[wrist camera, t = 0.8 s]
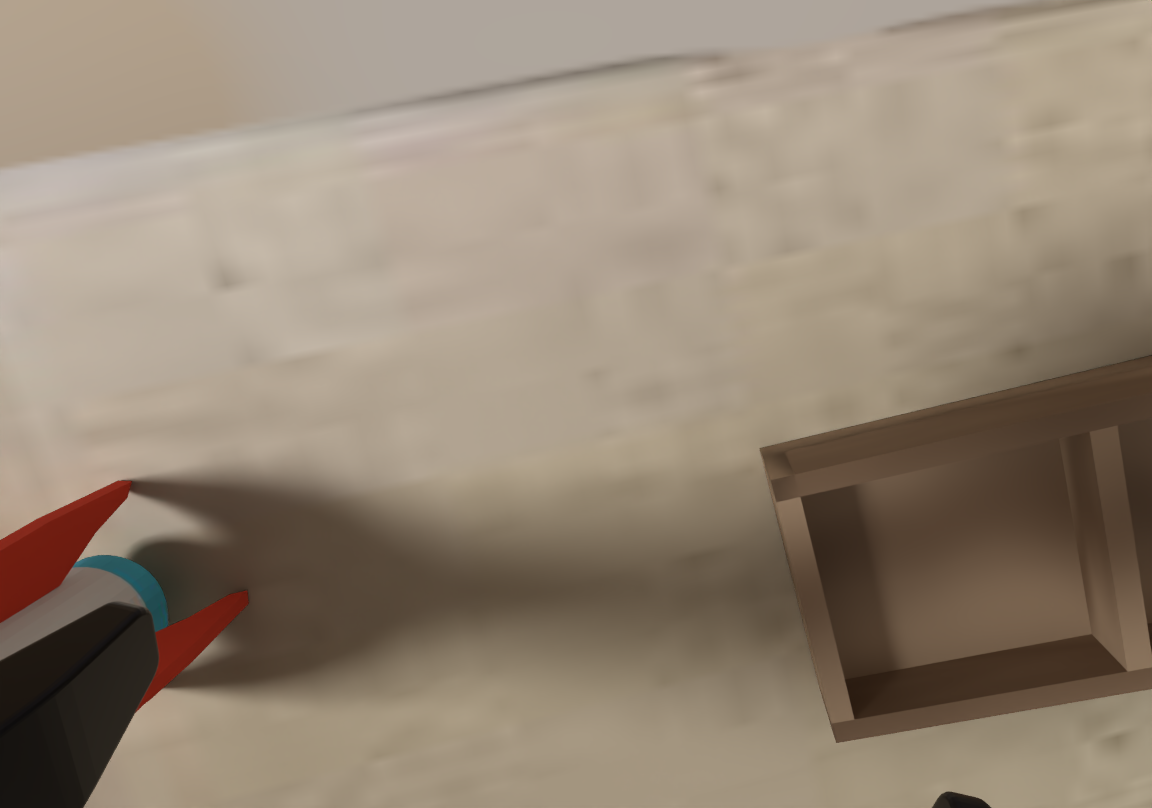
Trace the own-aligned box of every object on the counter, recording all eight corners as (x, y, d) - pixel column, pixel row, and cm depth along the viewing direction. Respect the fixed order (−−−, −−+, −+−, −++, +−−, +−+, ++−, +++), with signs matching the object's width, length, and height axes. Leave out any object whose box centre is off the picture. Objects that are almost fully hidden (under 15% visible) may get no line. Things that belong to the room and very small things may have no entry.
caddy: (1398, 579, 22) (1494, 630, 19) (819, 686, 24) (836, 742, 22) (1377, 301, 20) (1478, 317, 17) (759, 448, 23) (770, 480, 20)
